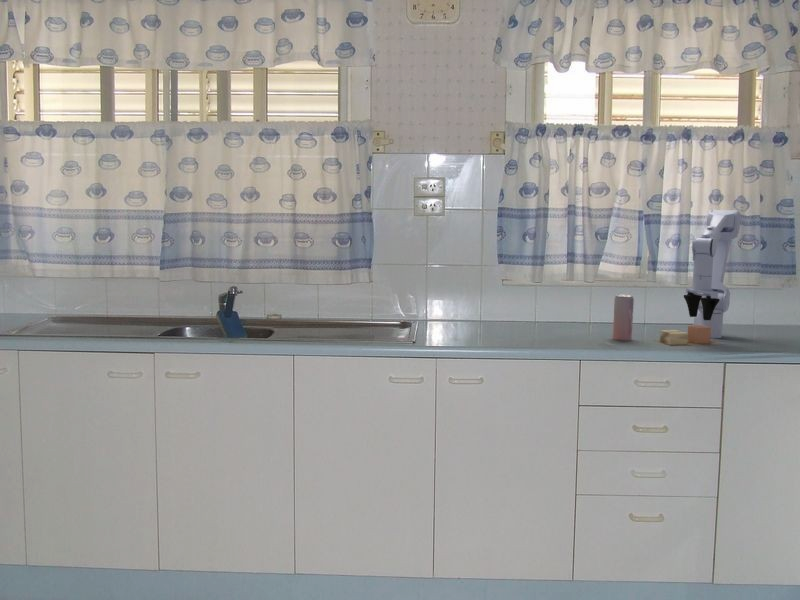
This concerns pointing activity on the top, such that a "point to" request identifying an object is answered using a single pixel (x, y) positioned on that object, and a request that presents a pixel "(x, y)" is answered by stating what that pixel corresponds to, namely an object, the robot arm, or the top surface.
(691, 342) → the base plate
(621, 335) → the beverage can
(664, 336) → the birch block
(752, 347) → the top surface
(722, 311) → the robot arm
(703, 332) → the terracotta block
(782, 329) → the top surface
